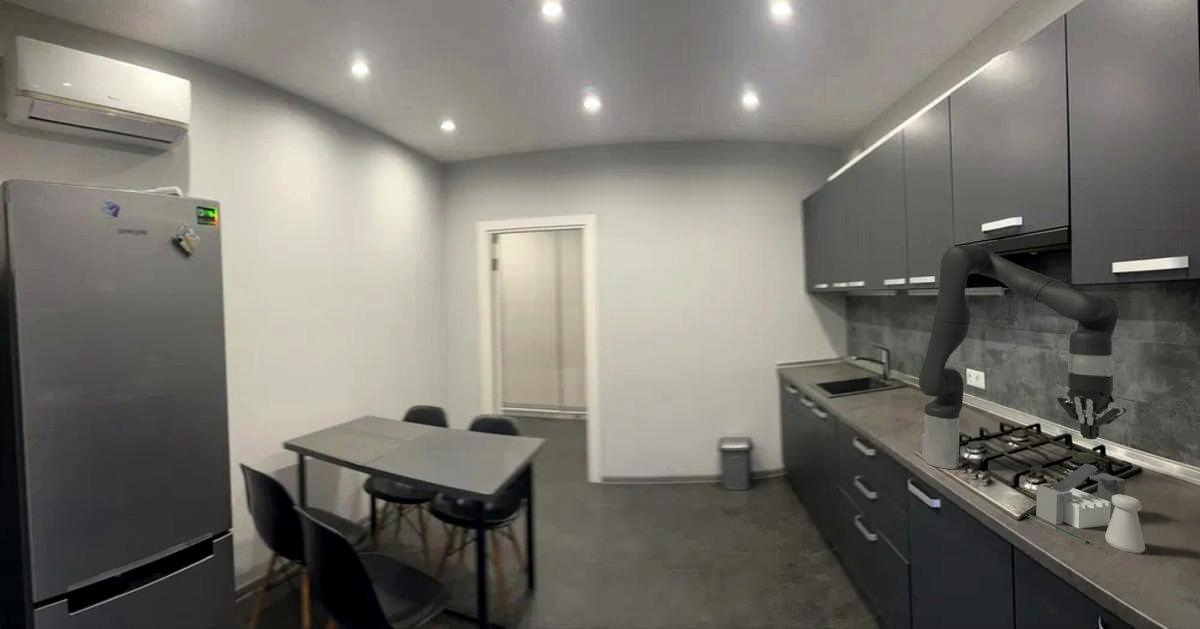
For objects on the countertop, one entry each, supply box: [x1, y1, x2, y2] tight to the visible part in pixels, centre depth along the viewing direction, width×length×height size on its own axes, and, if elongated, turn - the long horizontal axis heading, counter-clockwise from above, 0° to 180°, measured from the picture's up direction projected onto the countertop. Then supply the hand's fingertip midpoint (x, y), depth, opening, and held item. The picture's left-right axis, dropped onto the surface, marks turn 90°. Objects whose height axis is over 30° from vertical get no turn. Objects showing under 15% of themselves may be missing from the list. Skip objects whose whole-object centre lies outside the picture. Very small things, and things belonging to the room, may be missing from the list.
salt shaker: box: [1104, 494, 1146, 554], centre depth 96 cm, size 6×6×13 cm
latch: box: [1091, 472, 1126, 516], centre depth 110 cm, size 4×5×10 cm
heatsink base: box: [1012, 483, 1111, 545], centre depth 109 cm, size 16×21×10 cm
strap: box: [1048, 463, 1098, 493], centre depth 108 cm, size 3×13×1 cm
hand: (1089, 438), depth 108 cm, fingers closed
